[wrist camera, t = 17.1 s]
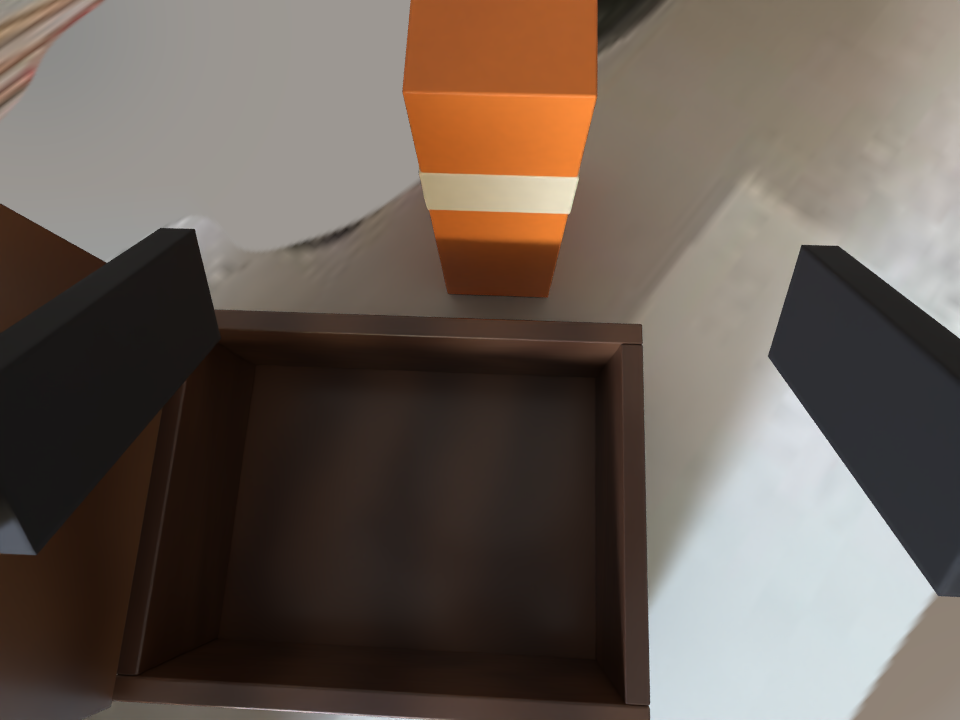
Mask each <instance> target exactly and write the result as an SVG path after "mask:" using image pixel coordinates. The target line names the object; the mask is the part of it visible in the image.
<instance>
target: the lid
mask: <svg viewBox="0 0 960 720" xmlns="http://www.w3.org/2000/svg"><path fill="white" fill-rule="evenodd" d="M105 264H107V263H106V262H104V261H102V260H101V259H99V258H97V257H95V256H93V255H92V254H90V253H88V252H86V251H84V250H83V249H81V248H79V247H77V246H76V245H74V244H72V243H70V242H68V241H67V240H65V239H63V238H61V237H59V236H57V235H56V234H54V233H52V232H50V231H49V230H47V229H45V228H43V227H42V226H40V225H38V224H36V223H34V222H32V221H31V220H29V219H27V218H25V217H24V216H22V215H20V214H18V213H16V212H15V211H13V210H11V209H9V208H7V207H6V206H4V205H2V204H0V333H2V332H3V331H5V330H6V329H8V328H9V327H11V326H12V325H14V324H15V323H17V322H18V321H20V320H21V319H23V318H24V317H26V316H27V315H29V314H30V313H32V312H34V311H35V310H37V309H38V308H40V307H41V306H43V305H44V304H46V303H47V302H49V301H50V300H52V299H53V298H55V297H56V296H58V295H59V294H61V293H62V292H64V291H65V290H67V289H69V288H70V287H72V286H73V285H75V284H76V283H78V282H79V281H81V280H82V279H84V278H85V277H87V276H88V275H90V274H91V273H93V272H94V271H96V270H97V269H99V268H100V267H102V266H104V265H105ZM162 408H163V407H162ZM161 413H162V409H161V410H160V411H159V412H158V413H157V415H156V416H155V417H154V418H153V419H152V420H151V422H150V423H149V424H148V425H147V426H146V427H145V429H144V430H143V431H142V432H141V433H140V434H139V436H138V437H137V438H136V439H135V440H134V442H133V443H132V444H131V445H130V446H129V447H128V449H127V450H126V451H125V452H124V453H123V454H122V456H121V457H120V458H119V459H118V460H117V461H116V463H115V464H114V465H113V466H112V467H111V469H110V470H109V471H108V472H107V473H106V474H105V476H104V477H103V478H102V479H101V480H100V481H99V483H98V484H97V485H96V486H95V487H94V488H93V490H92V491H91V492H90V493H89V494H88V496H87V497H86V498H85V499H84V500H83V501H82V503H81V504H80V505H79V506H78V507H77V508H76V510H75V511H74V512H73V513H72V514H71V515H70V517H69V518H68V519H67V520H66V521H65V523H64V524H63V525H62V526H61V527H60V528H59V530H58V531H57V532H56V533H55V534H54V535H53V537H52V538H51V539H50V540H49V541H48V542H47V544H46V545H45V546H44V547H43V548H42V550H41V551H40V552H39V553H38V554H37V555H24V554H2V553H0V720H82V719H85V718H87V717H89V716H91V715H94V714H96V713H98V712H100V711H103V710H105V709H107V708H109V707H111V703H112V697H113V691H114V685H115V680H116V674H117V668H118V662H119V656H120V651H121V645H122V639H123V633H124V628H125V622H126V616H127V610H128V604H129V599H130V593H131V587H132V581H133V575H134V570H135V564H136V558H137V552H138V547H139V541H140V535H141V529H142V523H143V518H144V512H145V506H146V500H147V494H148V489H149V483H150V477H151V471H152V466H153V460H154V454H155V448H156V442H157V437H158V431H159V425H160V419H161Z"/></svg>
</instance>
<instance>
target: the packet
mask: <svg viewBox="0 0 960 720" xmlns="http://www.w3.org/2000/svg"><path fill="white" fill-rule="evenodd" d="M403 96H404V101H405V105H406V109H407V114H408V118H409V123H410V127H411V132H412V136H413V141H414V145H415V149H416V154H417V158H418V163H419V177H420V181H421V185H422V190H423V194H424V198H425V203H426V207H427V209H428V210H429V212H430V216H431V221H432V225H433V230H434V234H435V239H436V243H437V248H438V252H439V257H440V261H441V266H442V270H443V274H444V279H445V283H446V288H447V292H448V294H466V295H493V296H520V297H548V295H549V291H550V287H551V283H552V278H553V274H554V270H555V266H556V262H557V258H558V254H559V250H560V246H561V242H562V238H563V234H564V230H565V226H566V222H567V217H568V214H570V212H571V209H572V205H573V201H574V197H575V193H576V189H577V185H578V181H579V169H580V165H581V161H582V156H583V152H584V148H585V144H586V140H587V136H588V132H589V128H590V124H591V120H592V116H593V112H594V108H595V104H596V100H597V0H411V4H410V14H409V25H408V37H407V48H406V58H405V69H404V80H403Z"/></svg>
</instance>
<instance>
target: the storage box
mask: <svg viewBox="0 0 960 720" xmlns="http://www.w3.org/2000/svg"><path fill="white" fill-rule="evenodd" d="M214 311H215V315H216V319H217V323H218V328H219V332H220V336H221V339H220V341H219V342H218V343H217V344H216V345H215V346H214V348H213V349H212V350H211V351H210V352H209V354H208V355H207V356H206V357H205V358H204V359H203V361H202V362H201V363H200V364H199V365H198V366H197V368H196V369H195V370H194V371H193V372H192V373H191V375H190V376H189V377H188V378H187V379H186V381H185V382H184V383H183V384H182V385H181V386H180V388H179V389H178V390H177V391H176V392H175V393H174V395H173V396H172V397H171V398H170V399H169V400H168V402H167V403H166V404H165V405H164V406H163V408H162V413H161V419H160V425H159V431H158V437H157V442H156V448H155V454H154V460H153V466H152V471H151V477H150V483H149V489H148V494H147V500H146V506H145V512H144V518H143V523H142V529H141V535H140V541H139V547H138V552H137V558H136V564H135V570H134V575H133V581H132V587H131V593H130V599H129V604H128V610H127V616H126V622H125V628H124V633H123V639H122V645H121V651H120V656H119V662H118V668H117V674H118V675H116V680H115V685H114V691H113V697H112V701H121V702H137V703H154V704H171V705H188V706H205V707H221V708H238V709H255V710H272V711H289V712H305V713H322V714H339V715H356V716H373V717H389V718H406V719H423V720H650V708H649V706H648V705H650V677H649V628H648V580H647V531H646V483H645V434H644V385H643V346H642V343H643V340H642V325H641V324H620V323H591V322H562V321H533V320H503V319H474V318H445V317H416V316H387V315H358V314H329V313H300V312H271V311H242V310H214Z"/></svg>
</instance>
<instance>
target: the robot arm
mask: <svg viewBox="0 0 960 720" xmlns="http://www.w3.org/2000/svg"><path fill="white" fill-rule="evenodd" d="M220 339H221V336H220V332H219V328H218V323H217V319H216V315H215V311H214V307H213V303H212V299H211V295H210V290H209V286H208V282H207V278H206V274H205V270H204V266H203V262H202V258H201V253H200V249H199V245H198V241H197V237H196V233H195V229H174V228H160V229H158V230H157V231H155V232H154V233H152V234H151V235H149V236H148V237H146V238H145V239H143V240H142V241H140V242H139V243H137V244H136V245H134V246H132V247H131V248H129V249H128V250H126V251H125V252H123V253H122V254H120V255H119V256H117V257H116V258H114V259H113V260H111V261H110V262H108V263H107V264H105V265H104V266H102V267H100V268H99V269H97V270H96V271H94V272H93V273H91V274H90V275H88V276H87V277H85V278H84V279H82V280H81V281H79V282H78V283H76V284H75V285H73V286H72V287H70V288H69V289H67V290H65V291H64V292H62V293H61V294H59V295H58V296H56V297H55V298H53V299H52V300H50V301H49V302H47V303H46V304H44V305H43V306H41V307H40V308H38V309H37V310H35V311H34V312H32V313H30V314H29V315H27V316H26V317H24V318H23V319H21V320H20V321H18V322H17V323H15V324H14V325H12V326H11V327H9V328H8V329H6V330H5V331H3V332H2V333H0V553H2V554H24V555H37V554H38V553H39V552H40V551H41V550H42V548H43V547H44V546H45V545H46V544H47V542H48V541H49V540H50V539H51V538H52V537H53V535H54V534H55V533H56V532H57V531H58V530H59V528H60V527H61V526H62V525H63V524H64V523H65V521H66V520H67V519H68V518H69V517H70V515H71V514H72V513H73V512H74V511H75V510H76V508H77V507H78V506H79V505H80V504H81V503H82V501H83V500H84V499H85V498H86V497H87V496H88V494H89V493H90V492H91V491H92V490H93V488H94V487H95V486H96V485H97V484H98V483H99V481H100V480H101V479H102V478H103V477H104V476H105V474H106V473H107V472H108V471H109V470H110V469H111V467H112V466H113V465H114V464H115V463H116V461H117V460H118V459H119V458H120V457H121V456H122V454H123V453H124V452H125V451H126V450H127V449H128V447H129V446H130V445H131V444H132V443H133V442H134V440H135V439H136V438H137V437H138V436H139V434H140V433H141V432H142V431H143V430H144V429H145V427H146V426H147V425H148V424H149V423H150V422H151V420H152V419H153V418H154V417H155V416H156V415H157V413H158V412H159V411H160V410H161V409H162V407H163V406H164V405H165V404H166V403H167V402H168V400H169V399H170V398H171V397H172V396H173V395H174V393H175V392H176V391H177V390H178V389H179V388H180V386H181V385H182V384H183V383H184V382H185V381H186V379H187V378H188V377H189V376H190V375H191V373H192V372H193V371H194V370H195V369H196V368H197V366H198V365H199V364H200V363H201V362H202V361H203V359H204V358H205V357H206V356H207V355H208V354H209V352H210V351H211V350H212V349H213V348H214V346H215V345H216V344H217V343H218V342H219V341H220ZM768 357H769V359H770V360H771V361H772V363H773V364H774V366H775V367H776V368H777V370H778V371H779V373H780V374H781V375H782V377H783V378H784V380H785V381H786V382H787V384H788V385H789V387H790V388H791V389H792V391H793V392H794V394H795V395H796V397H797V398H798V399H799V401H800V402H801V404H802V405H803V406H804V408H805V409H806V411H807V412H808V413H809V415H810V416H811V418H812V419H813V420H814V422H815V423H816V425H817V426H818V427H819V429H820V430H821V432H822V433H823V434H824V436H825V437H826V439H827V440H828V441H829V443H830V444H831V446H832V447H833V449H834V450H835V451H836V453H837V454H838V456H839V457H840V458H841V460H842V461H843V463H844V464H845V465H846V467H847V468H848V470H849V471H850V472H851V474H852V475H853V477H854V478H855V479H856V481H857V482H858V484H859V485H860V486H861V488H862V489H863V491H864V492H865V494H866V495H867V496H868V498H869V499H870V501H871V502H872V503H873V505H874V506H875V508H876V509H877V510H878V512H879V513H880V515H881V516H882V517H883V519H884V520H885V522H886V523H887V524H888V526H889V527H890V529H891V530H892V531H893V533H894V534H895V536H896V537H897V538H898V540H899V541H900V543H901V544H902V546H903V547H904V548H905V550H906V551H907V553H908V554H909V555H910V557H911V558H912V560H913V561H914V562H915V564H916V565H917V567H918V568H919V569H920V571H921V572H922V574H923V575H924V576H925V578H926V579H927V581H928V582H929V583H930V585H931V586H932V588H933V589H934V591H935V592H936V593H937V595H938V596H950V597H960V339H959V338H958V337H957V336H956V335H954V334H953V333H952V332H950V331H949V330H948V329H946V328H945V327H944V326H942V325H941V324H940V323H938V322H937V321H936V320H935V319H933V318H932V317H931V316H929V315H928V314H927V313H925V312H924V311H923V310H921V309H920V308H919V307H918V306H916V305H915V304H914V303H912V302H911V301H910V300H908V299H907V298H906V297H904V296H903V295H902V294H901V293H899V292H898V291H897V290H895V289H894V288H893V287H891V286H890V285H889V284H887V283H886V282H885V281H884V280H882V279H881V278H880V277H878V276H877V275H876V274H874V273H873V272H872V271H870V270H869V269H868V268H866V267H865V266H864V265H863V264H861V263H860V262H859V261H857V260H856V259H855V258H853V257H852V256H851V255H849V254H848V253H847V252H846V251H844V250H843V249H842V248H840V247H839V246H819V245H802V246H801V249H800V252H799V255H798V259H797V262H796V265H795V269H794V272H793V275H792V279H791V282H790V285H789V289H788V292H787V295H786V298H785V302H784V305H783V308H782V312H781V315H780V318H779V322H778V325H777V328H776V332H775V335H774V338H773V341H772V345H771V348H770V351H769V355H768Z"/></svg>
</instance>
